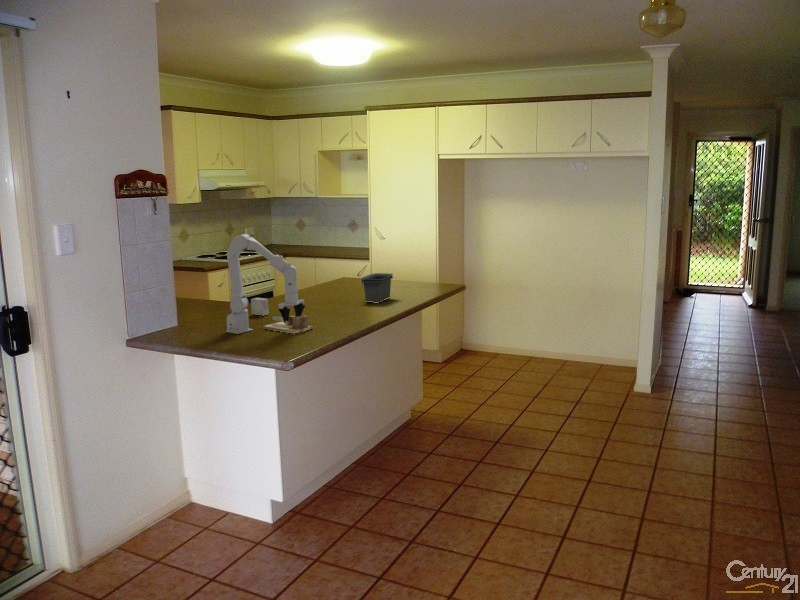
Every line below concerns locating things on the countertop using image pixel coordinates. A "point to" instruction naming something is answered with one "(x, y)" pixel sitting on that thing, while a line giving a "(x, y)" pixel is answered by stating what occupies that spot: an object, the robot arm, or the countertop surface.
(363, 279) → the storage bin
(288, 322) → the wing nut
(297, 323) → the beige blocky piece
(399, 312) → the countertop surface
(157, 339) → the countertop surface
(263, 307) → the medicine box
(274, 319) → the threaded rod
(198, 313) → the countertop surface
